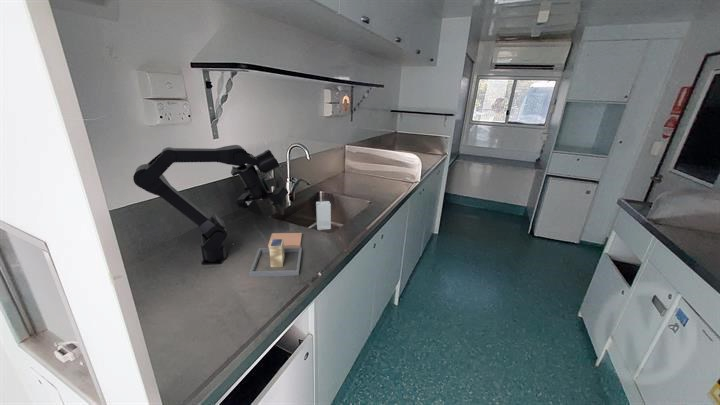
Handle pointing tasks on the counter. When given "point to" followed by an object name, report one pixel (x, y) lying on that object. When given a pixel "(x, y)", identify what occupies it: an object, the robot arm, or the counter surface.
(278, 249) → the birch label block
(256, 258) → the grey picture frame
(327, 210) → the skincare box
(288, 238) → the terracotta tile
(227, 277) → the counter surface
